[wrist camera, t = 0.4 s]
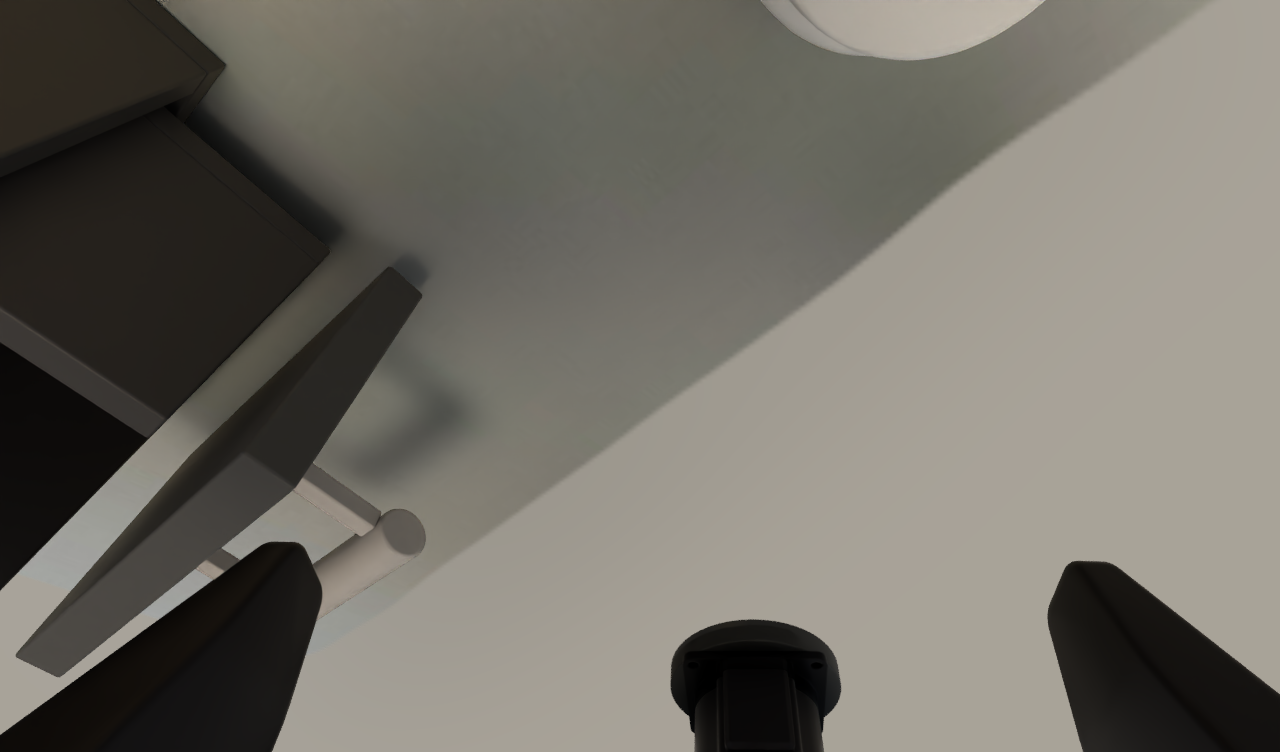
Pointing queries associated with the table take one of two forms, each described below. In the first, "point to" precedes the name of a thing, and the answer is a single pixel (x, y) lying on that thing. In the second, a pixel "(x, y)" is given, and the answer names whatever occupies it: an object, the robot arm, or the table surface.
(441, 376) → the table surface
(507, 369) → the table surface
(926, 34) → the supplement bottle
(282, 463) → the drawer
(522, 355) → the table surface
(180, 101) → the cabinet
